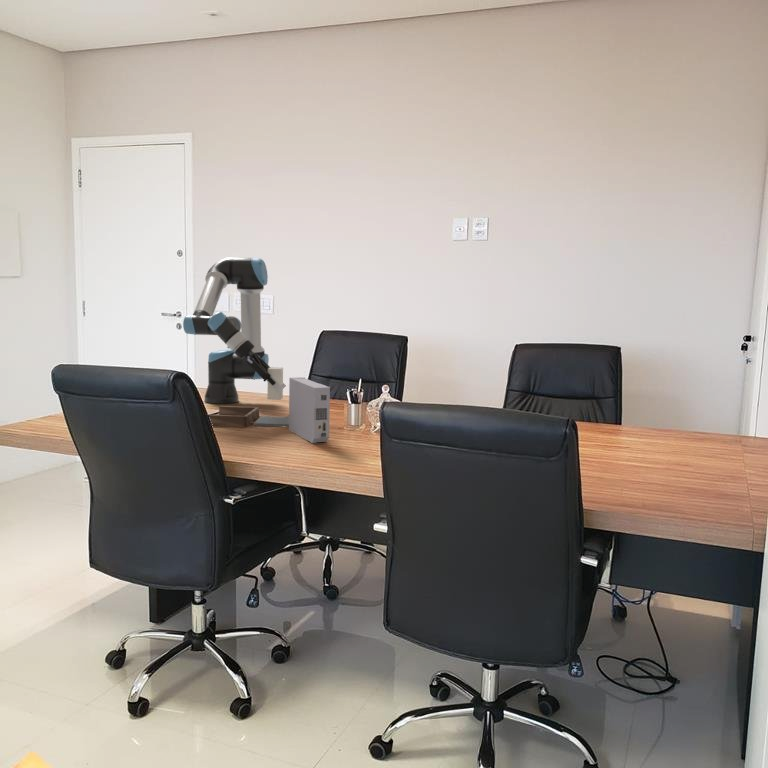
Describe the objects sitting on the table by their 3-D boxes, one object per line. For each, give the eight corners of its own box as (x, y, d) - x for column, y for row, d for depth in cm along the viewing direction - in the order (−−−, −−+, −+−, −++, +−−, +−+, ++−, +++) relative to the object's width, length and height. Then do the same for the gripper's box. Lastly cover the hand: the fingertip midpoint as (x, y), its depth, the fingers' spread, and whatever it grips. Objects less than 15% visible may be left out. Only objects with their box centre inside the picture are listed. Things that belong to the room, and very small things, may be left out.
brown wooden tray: (219, 415, 315) (219, 405, 315) (259, 417, 314) (259, 407, 314) (204, 425, 294) (204, 415, 294) (246, 426, 293) (246, 416, 293)
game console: (303, 429, 292) (304, 377, 289) (329, 444, 268) (330, 387, 265) (288, 430, 290) (289, 377, 287) (313, 445, 265) (314, 387, 263)
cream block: (270, 397, 304) (270, 367, 303) (282, 397, 304) (283, 367, 302) (267, 399, 299) (267, 368, 298) (280, 399, 299) (280, 369, 297)
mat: (261, 418, 311) (261, 416, 311) (296, 419, 310) (296, 417, 310) (253, 425, 296) (253, 423, 296) (289, 427, 296) (289, 424, 295)
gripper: (239, 350, 309) (279, 392, 310) (227, 354, 291) (270, 399, 293) (252, 337, 308) (293, 379, 309) (241, 340, 290) (284, 385, 292)
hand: (282, 389), depth 301 cm, fingers closed on cream block, 5 cm apart
